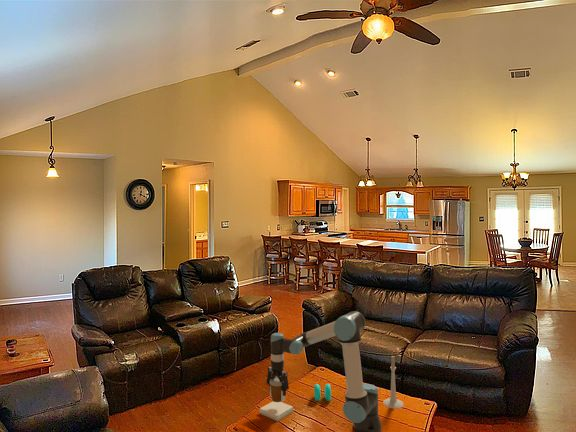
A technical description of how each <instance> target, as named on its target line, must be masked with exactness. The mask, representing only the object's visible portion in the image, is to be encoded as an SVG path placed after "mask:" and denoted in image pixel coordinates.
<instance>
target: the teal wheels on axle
mask: <svg viewBox="0 0 576 432" xmlns="http://www.w3.org/2000/svg"><path fill="white" fill-rule="evenodd" d="M331 387H332V386H331V384H330V383H326V384H325V385H324V398H325V400H326V401H327V402H330V401H331V400H332V389H331ZM321 395H322V394H321V386H320V385H319V384H318V383H316V384H314V395H313V396H314V401H316V402H319V401H320V399H321Z"/></svg>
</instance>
